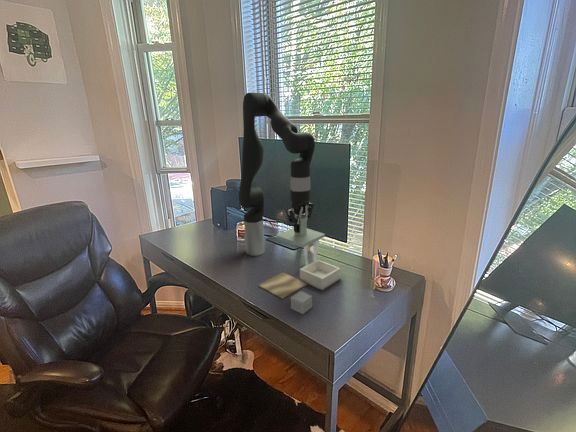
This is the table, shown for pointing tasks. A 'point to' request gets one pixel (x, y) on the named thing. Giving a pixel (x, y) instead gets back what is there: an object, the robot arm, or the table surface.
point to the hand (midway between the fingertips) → (300, 230)
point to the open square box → (320, 274)
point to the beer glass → (311, 252)
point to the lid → (301, 235)
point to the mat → (282, 285)
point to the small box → (301, 302)
